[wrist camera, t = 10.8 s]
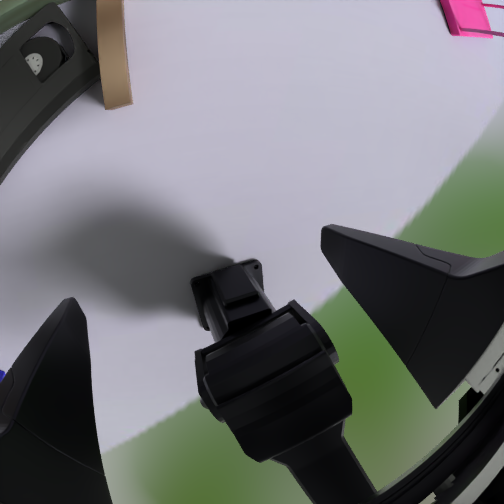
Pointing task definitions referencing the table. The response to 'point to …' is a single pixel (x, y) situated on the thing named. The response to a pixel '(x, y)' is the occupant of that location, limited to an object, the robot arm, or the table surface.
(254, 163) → the table surface
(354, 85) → the table surface
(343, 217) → the table surface
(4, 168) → the vhs tape
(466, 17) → the file sorter
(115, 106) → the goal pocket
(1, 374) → the cable holder
